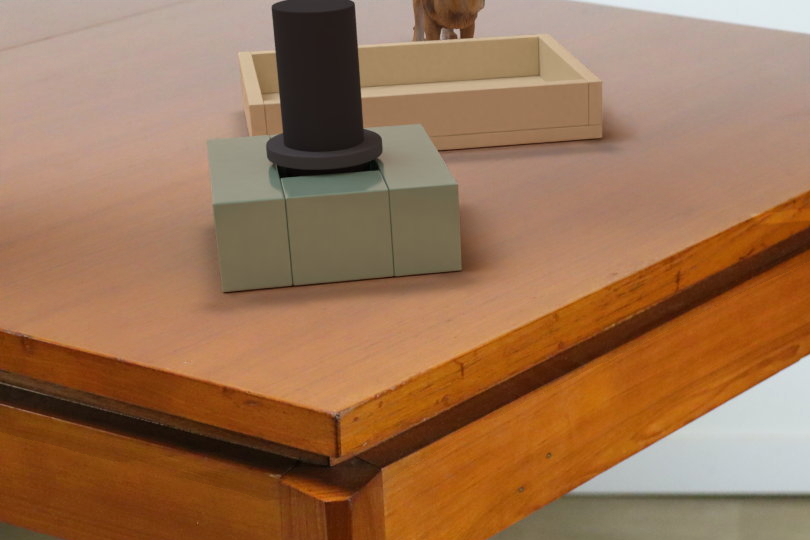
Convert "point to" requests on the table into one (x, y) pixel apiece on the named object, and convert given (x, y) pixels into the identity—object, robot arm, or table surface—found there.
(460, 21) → the lion figurine
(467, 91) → the wooden tray
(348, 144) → the plug
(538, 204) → the table surface
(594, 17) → the table surface
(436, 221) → the block
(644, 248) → the table surface
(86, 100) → the table surface
